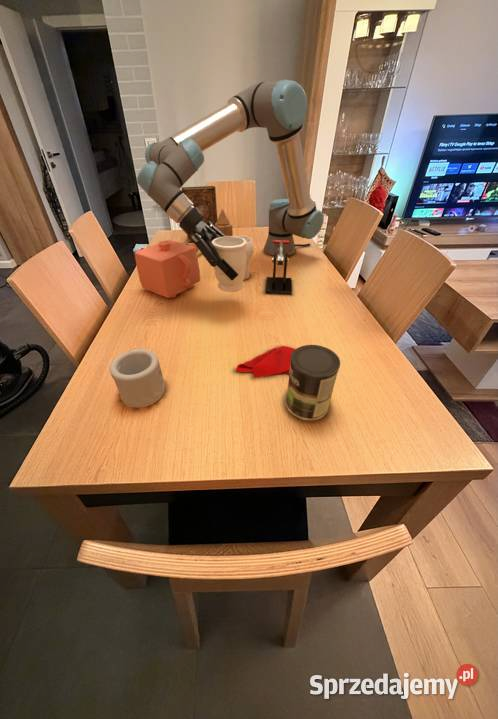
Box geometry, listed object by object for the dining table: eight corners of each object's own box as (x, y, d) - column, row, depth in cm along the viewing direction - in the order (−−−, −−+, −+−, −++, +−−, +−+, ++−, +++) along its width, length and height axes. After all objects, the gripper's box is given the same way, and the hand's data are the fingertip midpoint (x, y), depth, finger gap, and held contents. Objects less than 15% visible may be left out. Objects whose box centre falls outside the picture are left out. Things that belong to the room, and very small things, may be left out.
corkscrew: (273, 242, 117) (273, 238, 114) (289, 243, 116) (289, 238, 114) (272, 264, 112) (272, 260, 110) (288, 265, 112) (288, 260, 109)
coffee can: (290, 422, 68) (296, 377, 58) (282, 389, 75) (286, 345, 66) (334, 419, 68) (347, 374, 59) (322, 387, 76) (332, 343, 67)
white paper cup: (250, 282, 103) (251, 237, 93) (240, 296, 95) (239, 249, 85) (222, 278, 105) (219, 234, 96) (210, 291, 98) (205, 244, 88)
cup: (254, 271, 130) (254, 235, 120) (252, 282, 122) (252, 244, 112) (230, 270, 131) (228, 234, 121) (226, 281, 123) (224, 243, 113)
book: (218, 237, 163) (214, 185, 147) (219, 241, 159) (216, 188, 143) (187, 240, 161) (180, 187, 144) (188, 243, 156) (181, 189, 140)
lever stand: (266, 280, 123) (267, 248, 115) (291, 280, 123) (294, 249, 114) (265, 293, 114) (266, 261, 106) (291, 294, 113) (294, 262, 105)
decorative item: (216, 251, 148) (213, 207, 135) (228, 249, 150) (226, 205, 137) (221, 255, 143) (218, 210, 130) (233, 253, 146) (232, 208, 133)
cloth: (329, 350, 88) (330, 344, 86) (334, 383, 77) (335, 376, 76) (240, 344, 90) (240, 338, 88) (234, 376, 79) (234, 370, 78)
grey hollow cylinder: (167, 403, 72) (159, 372, 66) (120, 413, 70) (107, 382, 63) (163, 367, 82) (155, 338, 76) (122, 375, 80) (110, 345, 73)
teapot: (181, 267, 133) (174, 225, 121) (220, 280, 123) (217, 236, 111) (135, 289, 117) (123, 243, 106) (176, 305, 107) (167, 257, 96)
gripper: (191, 214, 99) (239, 263, 107) (163, 236, 82) (222, 293, 89) (205, 196, 95) (253, 249, 102) (179, 216, 77) (239, 278, 85)
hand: (239, 270), depth 96 cm, fingers closed on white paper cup, 10 cm apart
